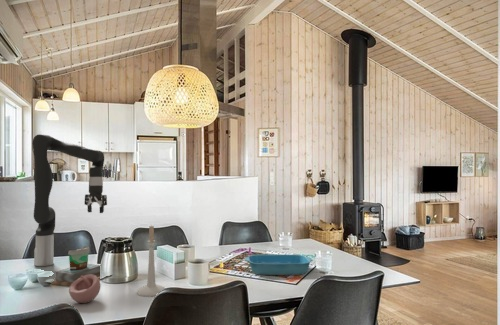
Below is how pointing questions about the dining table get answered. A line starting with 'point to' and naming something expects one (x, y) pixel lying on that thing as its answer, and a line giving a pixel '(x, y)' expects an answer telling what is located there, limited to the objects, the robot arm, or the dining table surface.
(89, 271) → the plinth
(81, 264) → the food container
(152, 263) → the candlestick
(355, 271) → the dining table surface
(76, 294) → the mortar and pestle
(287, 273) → the casserole dish
